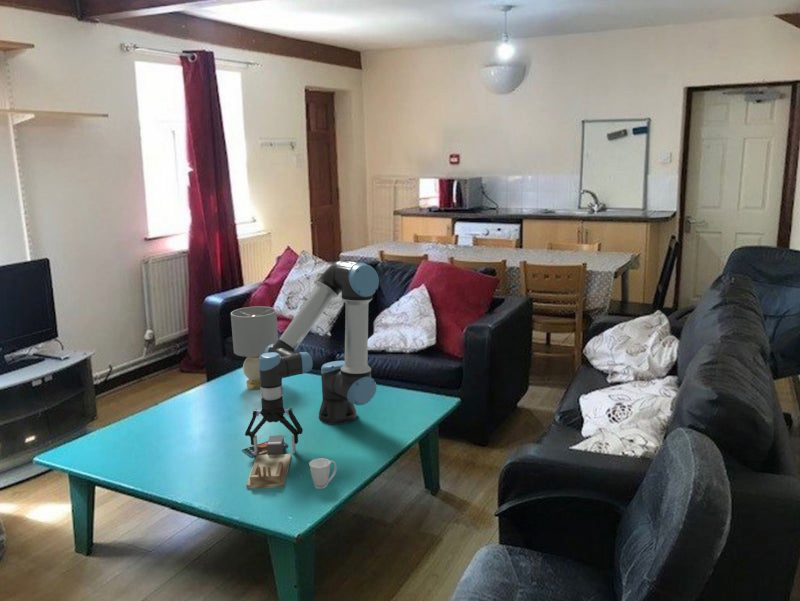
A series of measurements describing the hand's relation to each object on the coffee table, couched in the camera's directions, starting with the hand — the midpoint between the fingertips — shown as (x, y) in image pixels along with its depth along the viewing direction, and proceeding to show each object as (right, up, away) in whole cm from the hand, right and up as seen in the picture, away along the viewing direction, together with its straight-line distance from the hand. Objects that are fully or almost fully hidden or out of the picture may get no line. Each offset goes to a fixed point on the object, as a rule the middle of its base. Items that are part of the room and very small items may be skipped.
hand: (275, 452), depth 249 cm
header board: (+1, -3, -15) cm, 15 cm away
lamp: (-20, +15, +70) cm, 74 cm away
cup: (+20, -5, -23) cm, 31 cm away
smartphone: (-4, 0, +4) cm, 6 cm away
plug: (0, 0, 0) cm, 1 cm away
